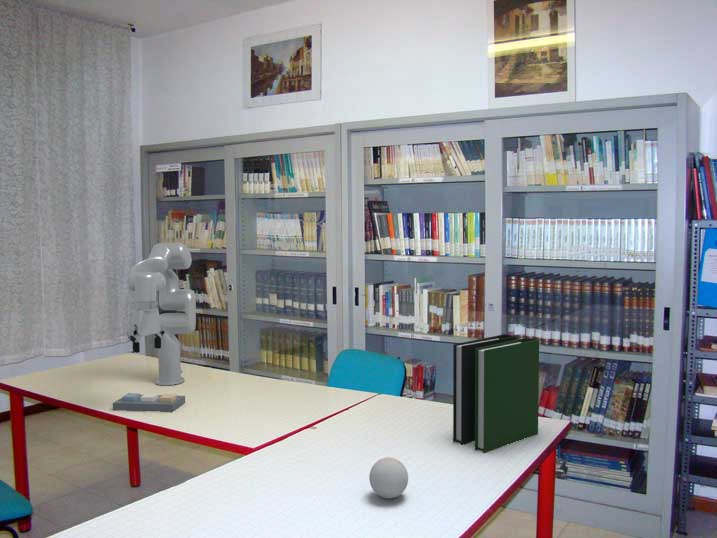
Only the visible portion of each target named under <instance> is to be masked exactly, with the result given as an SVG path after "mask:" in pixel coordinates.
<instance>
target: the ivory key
mask: <svg viewBox="0 0 717 538" xmlns="http://www.w3.org/2000/svg"><path fill="white" fill-rule="evenodd" d="M142 395H143V396H142V397H140V400H141V401H150V402H153V401H155V400H157V399H158V398H159V396H158V395H159V393H145V394H142Z"/></svg>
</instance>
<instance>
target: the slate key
mask: <svg viewBox="0 0 717 538" xmlns="http://www.w3.org/2000/svg"><path fill="white" fill-rule="evenodd" d="M140 395H141V393H137V392H134V393H133V392H131V393H130V392H127V393H126V394H125V395H122V397H121V398H122V401H136V400H138V399H139V398H140Z"/></svg>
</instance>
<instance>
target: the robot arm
mask: <svg viewBox="0 0 717 538" xmlns="http://www.w3.org/2000/svg"><path fill="white" fill-rule="evenodd" d="M192 262H193V260H192V255H191V252H190V250H189V249H188V247H187V246H186V245H185V244H184V243H182V242H160V243H156V244H155V245H154V246H153V247H152V249H151V251H150V253H149V255H148V258H146V259H144V260H141V261H139V262H137V263H136V264H134V265H133V266H132V267H131V268H130V270H129V272H128V275H127V278H126V286H127V288H128V289H129V290H130V291H131V292H134V293H135V296H134V297H135V298H134V299H135V309H134V310H133V313H132V318H131V327H130V328H129V329H127V330H126V331H125V332H126V336H127V338H128V340H130V341H131V342H132V352H133V353H136V354H139V353H141V350H140V347H141V346H140V345H141V344H140V342H139V341H140V339H141V338H142V337H148V336H154V339H153V341H154V349H157V351H158V352H157V353H158V355H157V358H158V378H157V379H156V380H155V384H156V385H157V384H158V386H176V385H180V384H183V383H184V382H185V377H183V376H182V373H183V371H184V370H183V369H181V368H182V365H181V344H180V341H179V338H177V337H176V335H188V334H189V335H190V334H193V333H195V330H196V323H197V321H196V320H197V316H196V315H197V314H196V313H197V312H196V311H197V309H196V308H197V306H196V303H197V301H196V295H195V291H193V290H192V289H188V288H185V289H184V288H183V289H181V288H180V283H179V281H180V280H179V279H180V278H179V277H178V275H177V274H176V272H174V270H187V269H189V268H190V267H191V265H192ZM157 292H158V301H157ZM158 305H159V308H160V309H161V310H164V311H184V312H167V313H166V312H165V313H161V314H160V313H159V309H158V308H157V306H158ZM182 382H183V383H182ZM175 384H176V385H175Z"/></svg>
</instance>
